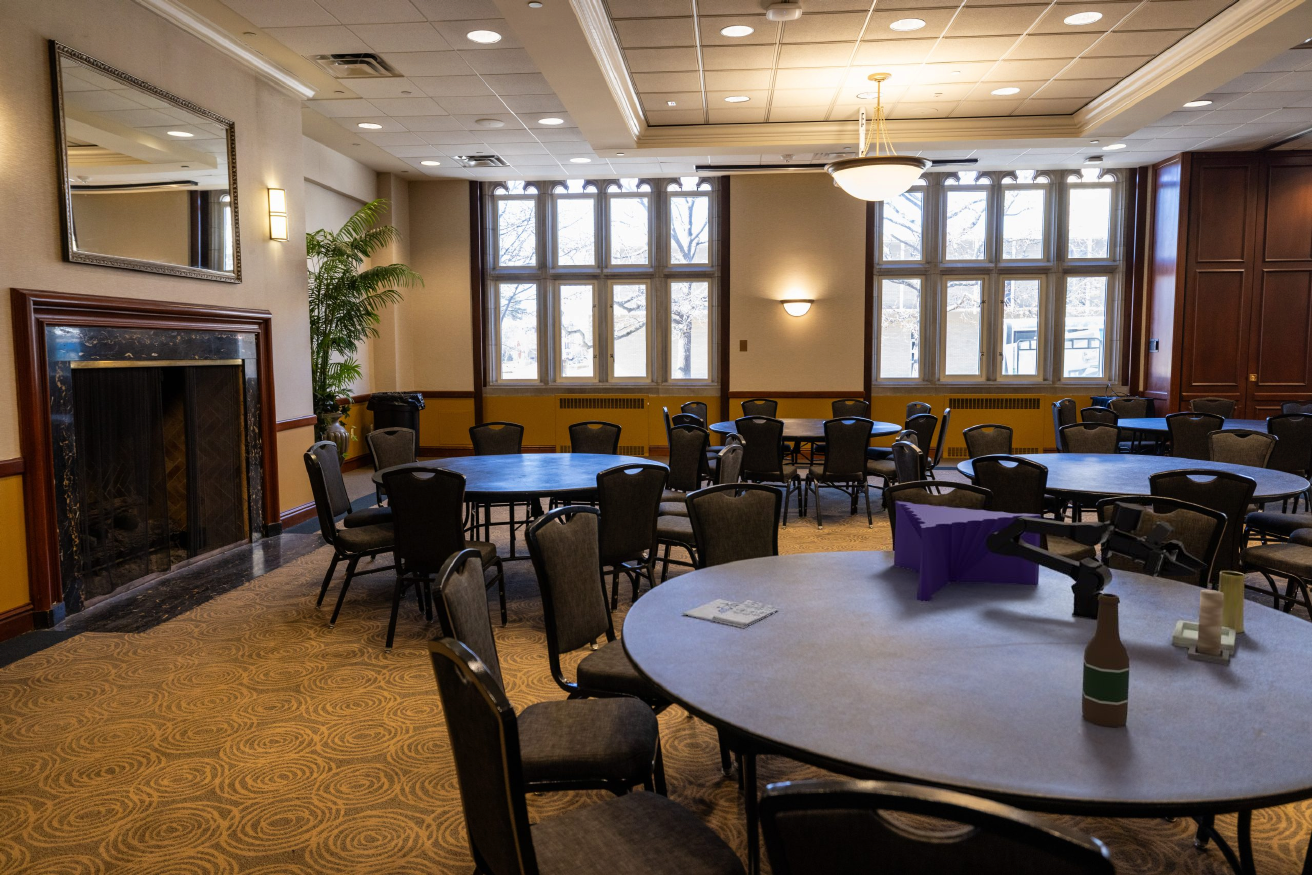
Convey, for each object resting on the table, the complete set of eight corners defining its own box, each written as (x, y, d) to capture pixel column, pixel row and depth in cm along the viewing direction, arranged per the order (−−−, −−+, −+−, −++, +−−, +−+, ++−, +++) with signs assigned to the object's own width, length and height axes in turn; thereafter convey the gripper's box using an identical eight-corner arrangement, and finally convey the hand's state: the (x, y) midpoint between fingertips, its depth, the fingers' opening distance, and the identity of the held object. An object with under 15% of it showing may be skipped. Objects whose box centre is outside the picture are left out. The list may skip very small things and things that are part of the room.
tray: (1172, 644, 202) (1172, 635, 202) (1177, 628, 214) (1178, 620, 214) (1233, 654, 195) (1233, 645, 195) (1235, 637, 207) (1235, 628, 207)
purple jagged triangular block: (895, 564, 285) (896, 500, 283) (1039, 584, 258) (1042, 514, 256) (846, 590, 253) (847, 519, 251) (1004, 616, 226) (1007, 537, 224)
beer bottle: (1072, 711, 164) (1077, 590, 162) (1110, 710, 165) (1115, 588, 163) (1096, 729, 157) (1101, 601, 154) (1136, 727, 157) (1142, 600, 155)
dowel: (1196, 657, 193) (1199, 592, 192) (1197, 652, 197) (1201, 588, 195) (1219, 661, 191) (1223, 595, 189) (1220, 655, 194) (1224, 591, 193)
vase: (1248, 633, 209) (1251, 576, 208) (1221, 632, 211) (1224, 575, 209) (1237, 626, 215) (1240, 570, 214) (1210, 624, 217) (1213, 569, 215)
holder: (1187, 658, 193) (1187, 652, 193) (1190, 648, 199) (1190, 643, 199) (1227, 664, 188) (1228, 659, 188) (1229, 655, 195) (1229, 650, 194)
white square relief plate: (744, 630, 217) (744, 622, 217) (680, 617, 229) (680, 609, 229) (781, 612, 232) (781, 605, 232) (719, 600, 244) (718, 593, 244)
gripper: (1129, 522, 208) (1200, 545, 197) (1153, 512, 221) (1221, 533, 210) (1117, 564, 211) (1186, 589, 200) (1141, 552, 224) (1207, 575, 213)
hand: (1201, 570), depth 206 cm, fingers open, 9 cm apart
